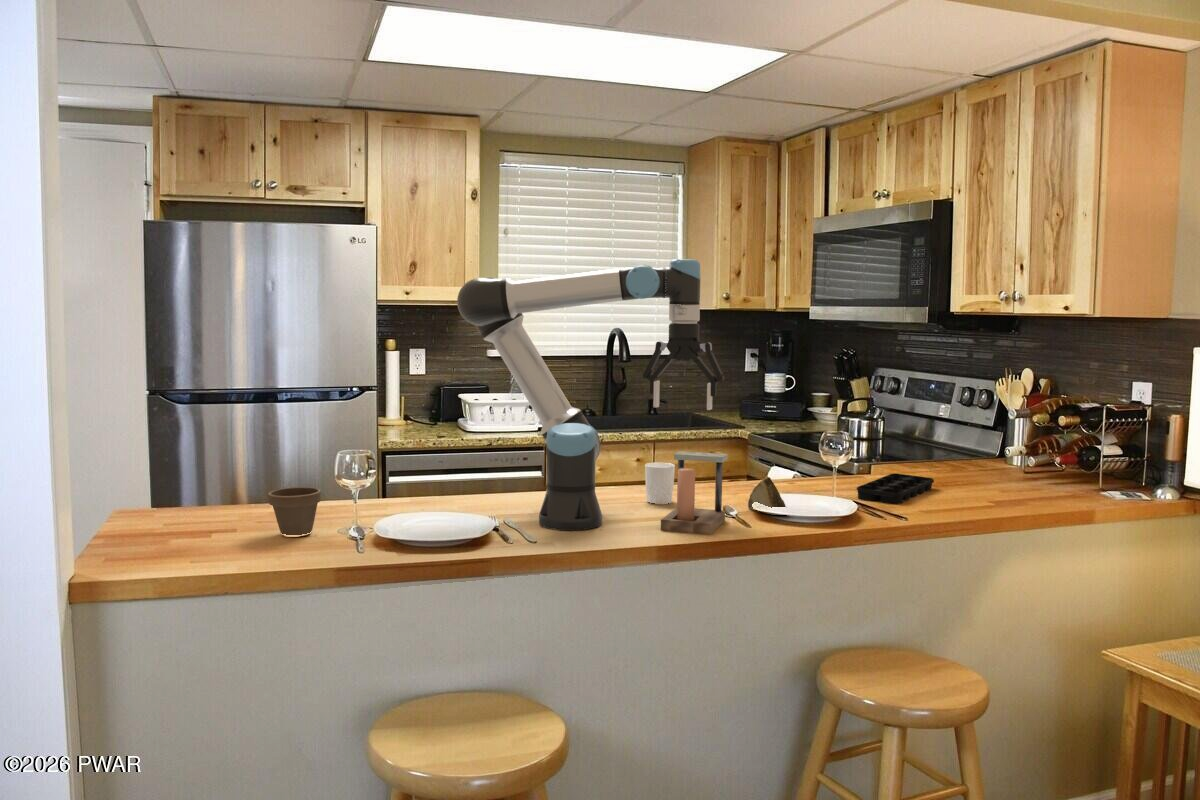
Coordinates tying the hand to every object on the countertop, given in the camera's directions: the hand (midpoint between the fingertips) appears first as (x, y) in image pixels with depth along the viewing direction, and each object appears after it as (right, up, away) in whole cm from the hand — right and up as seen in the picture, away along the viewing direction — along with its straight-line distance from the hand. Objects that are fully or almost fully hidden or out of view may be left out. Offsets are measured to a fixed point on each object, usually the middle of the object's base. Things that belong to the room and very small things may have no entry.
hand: (682, 408), depth 248 cm
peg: (0, -28, -12) cm, 31 cm away
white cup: (-5, -25, +17) cm, 31 cm away
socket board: (+2, -28, -9) cm, 29 cm away
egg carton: (+62, -25, +31) cm, 74 cm away
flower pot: (-89, -29, -22) cm, 96 cm away
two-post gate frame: (+4, -25, -4) cm, 25 cm away
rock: (+22, -27, +6) cm, 35 cm away
